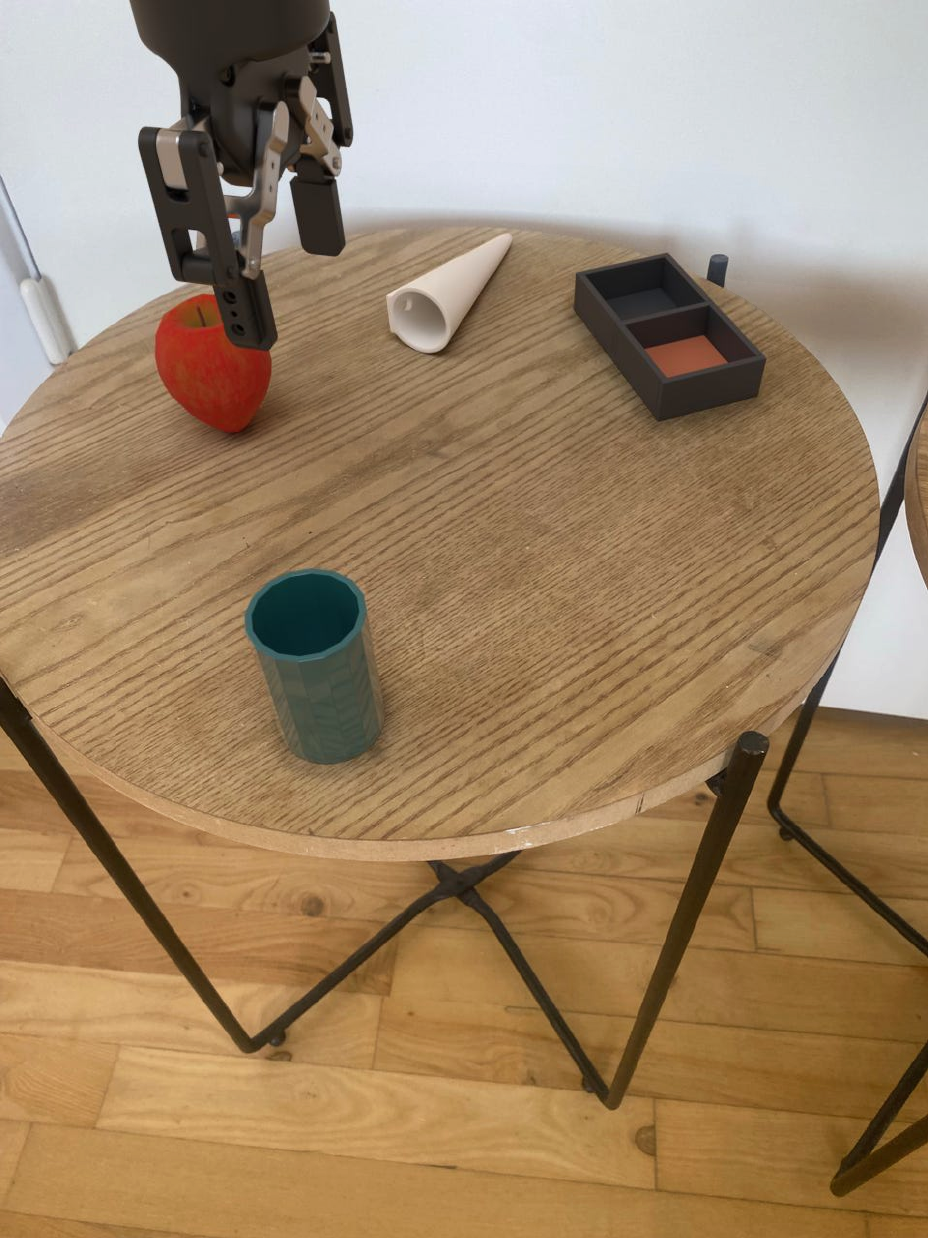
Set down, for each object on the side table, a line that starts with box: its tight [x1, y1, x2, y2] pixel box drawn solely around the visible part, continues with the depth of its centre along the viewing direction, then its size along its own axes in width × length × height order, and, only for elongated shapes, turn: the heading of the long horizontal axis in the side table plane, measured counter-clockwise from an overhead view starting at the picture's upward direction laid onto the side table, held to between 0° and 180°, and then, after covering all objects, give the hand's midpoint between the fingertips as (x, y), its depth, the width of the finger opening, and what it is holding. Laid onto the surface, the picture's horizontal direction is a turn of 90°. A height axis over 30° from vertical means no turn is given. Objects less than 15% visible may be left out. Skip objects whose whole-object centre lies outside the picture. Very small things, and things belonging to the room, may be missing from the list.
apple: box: [154, 293, 273, 434], centre depth 73 cm, size 9×8×11 cm
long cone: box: [385, 232, 513, 354], centre depth 86 cm, size 6×6×19 cm
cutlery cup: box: [243, 567, 386, 765], centre depth 54 cm, size 6×6×10 cm
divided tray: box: [573, 252, 767, 422], centre depth 80 cm, size 17×9×4 cm, turn 19°
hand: (292, 295), depth 47 cm, fingers open, 8 cm apart
